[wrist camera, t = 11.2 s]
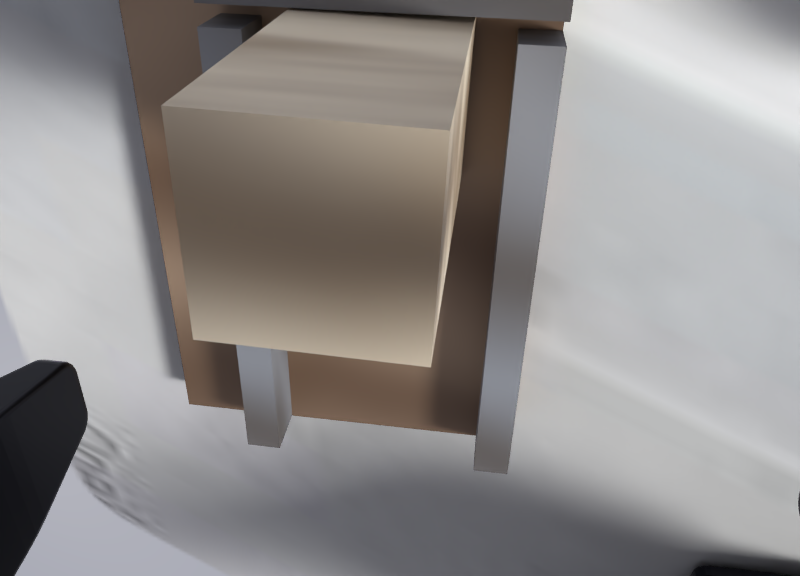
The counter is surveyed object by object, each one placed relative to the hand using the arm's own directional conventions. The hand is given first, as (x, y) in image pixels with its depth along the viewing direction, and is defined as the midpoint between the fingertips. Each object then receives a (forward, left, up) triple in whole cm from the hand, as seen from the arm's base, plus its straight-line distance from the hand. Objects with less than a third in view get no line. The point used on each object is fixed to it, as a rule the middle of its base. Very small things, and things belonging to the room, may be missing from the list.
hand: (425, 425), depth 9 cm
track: (-3, +3, -12) cm, 12 cm away
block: (+1, +2, -11) cm, 11 cm away
